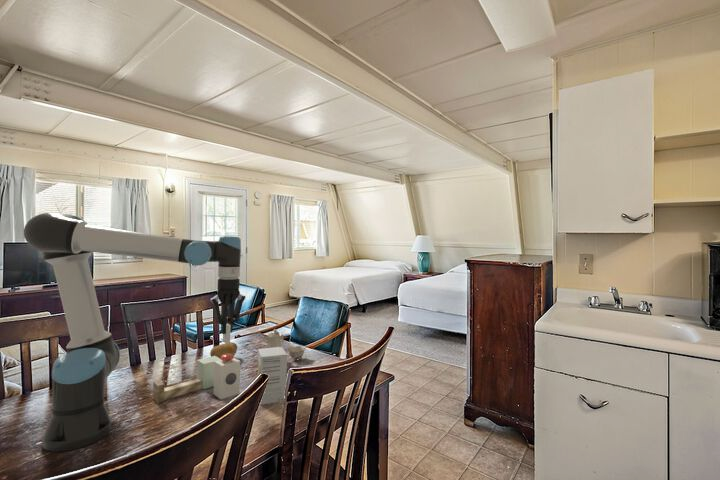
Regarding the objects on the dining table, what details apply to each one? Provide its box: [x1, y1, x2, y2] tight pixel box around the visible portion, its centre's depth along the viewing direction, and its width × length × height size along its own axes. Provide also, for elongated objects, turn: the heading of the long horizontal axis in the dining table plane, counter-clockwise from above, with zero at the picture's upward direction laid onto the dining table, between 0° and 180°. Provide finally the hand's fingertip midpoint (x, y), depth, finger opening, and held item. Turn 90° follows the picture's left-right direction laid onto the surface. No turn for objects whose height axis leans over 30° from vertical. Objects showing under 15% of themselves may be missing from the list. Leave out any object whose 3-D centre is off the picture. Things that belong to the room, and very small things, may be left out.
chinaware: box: [266, 328, 307, 360], centre depth 156 cm, size 28×17×17 cm, turn 167°
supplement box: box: [257, 346, 288, 406], centre depth 124 cm, size 10×9×17 cm
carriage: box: [196, 356, 221, 390], centre depth 133 cm, size 7×6×10 cm
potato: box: [209, 341, 238, 359], centre depth 159 cm, size 10×14×8 cm
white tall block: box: [213, 357, 241, 400], centre depth 126 cm, size 7×6×12 cm
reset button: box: [221, 353, 235, 363], centre depth 126 cm, size 4×4×4 cm
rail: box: [152, 378, 203, 404], centre depth 129 cm, size 26×5×6 cm, turn 137°
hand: (226, 342), depth 126 cm, fingers closed
